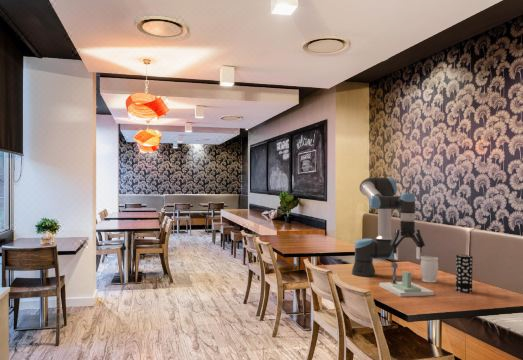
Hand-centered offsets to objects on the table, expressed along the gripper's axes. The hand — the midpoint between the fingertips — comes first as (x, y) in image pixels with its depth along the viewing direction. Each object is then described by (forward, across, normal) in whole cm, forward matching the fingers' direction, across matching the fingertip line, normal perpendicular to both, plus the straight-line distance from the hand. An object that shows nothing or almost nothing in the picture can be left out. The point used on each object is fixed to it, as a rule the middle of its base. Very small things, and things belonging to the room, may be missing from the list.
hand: (407, 259), depth 229 cm
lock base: (+18, +2, +5) cm, 19 cm away
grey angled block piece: (+16, +4, +12) cm, 20 cm away
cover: (+17, 0, 0) cm, 17 cm away
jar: (+18, +30, +24) cm, 42 cm away
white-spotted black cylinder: (+19, +35, -2) cm, 40 cm away
